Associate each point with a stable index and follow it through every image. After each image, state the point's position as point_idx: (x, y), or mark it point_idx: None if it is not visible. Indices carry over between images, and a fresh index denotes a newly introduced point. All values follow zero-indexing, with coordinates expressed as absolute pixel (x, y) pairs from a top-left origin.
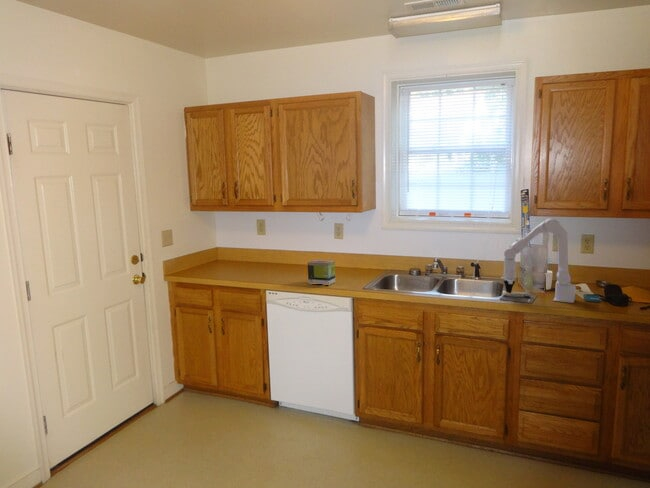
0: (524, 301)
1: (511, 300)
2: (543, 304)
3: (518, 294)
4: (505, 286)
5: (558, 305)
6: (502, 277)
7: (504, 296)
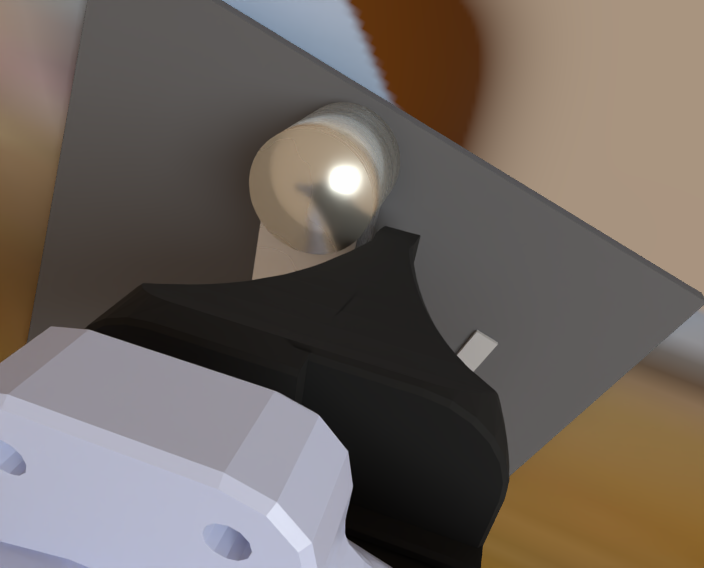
0: None
1: (58, 169)
2: None
3: None
4: (349, 291)
5: None
6: (40, 482)
7: None
